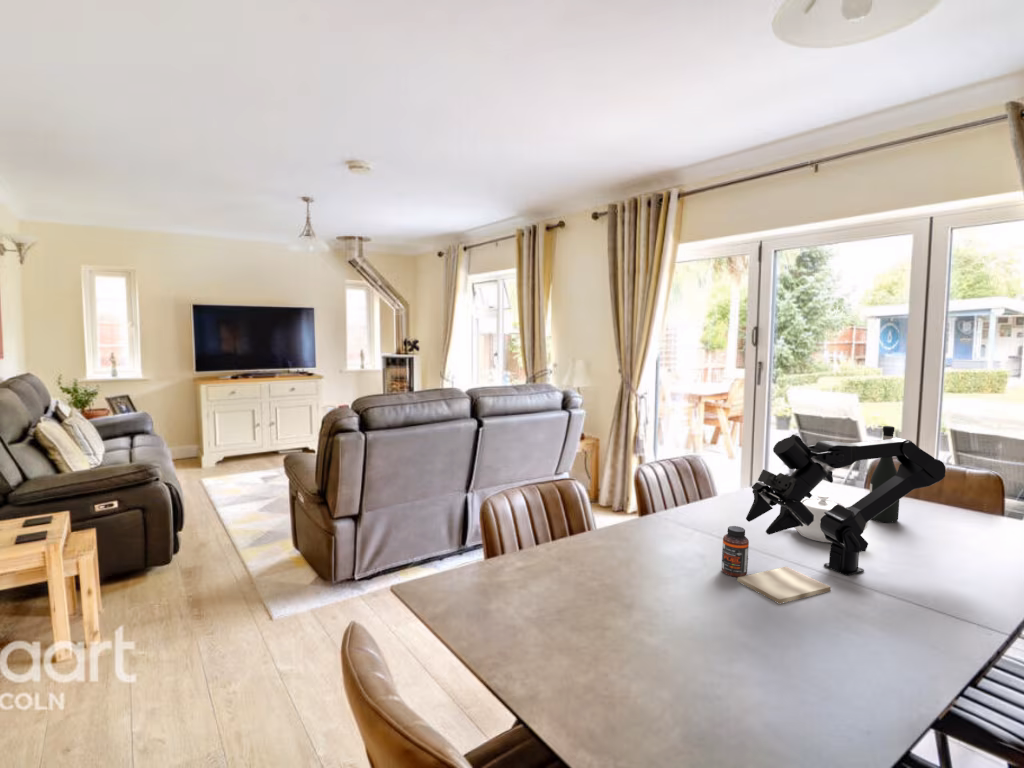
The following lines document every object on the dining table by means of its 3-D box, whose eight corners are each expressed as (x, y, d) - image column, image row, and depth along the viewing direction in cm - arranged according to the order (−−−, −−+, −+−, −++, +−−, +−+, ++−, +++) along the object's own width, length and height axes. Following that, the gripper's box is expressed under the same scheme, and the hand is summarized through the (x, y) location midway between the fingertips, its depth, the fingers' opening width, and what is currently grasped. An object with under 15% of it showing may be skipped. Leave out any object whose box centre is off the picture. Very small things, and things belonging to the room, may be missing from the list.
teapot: (875, 542, 157) (878, 500, 156) (855, 555, 147) (858, 510, 146) (785, 519, 176) (788, 481, 175) (763, 529, 166) (765, 489, 165)
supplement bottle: (719, 574, 135) (721, 529, 134) (722, 565, 140) (724, 522, 139) (746, 580, 132) (748, 534, 131) (748, 570, 138) (750, 526, 137)
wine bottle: (862, 517, 178) (867, 425, 175) (877, 514, 181) (883, 423, 179) (888, 525, 171) (894, 429, 168) (903, 521, 174) (910, 427, 172)
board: (786, 570, 138) (786, 566, 138) (830, 590, 127) (830, 586, 127) (737, 581, 132) (737, 577, 131) (779, 603, 121) (779, 599, 120)
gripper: (760, 451, 144) (718, 493, 144) (804, 468, 125) (755, 517, 125) (787, 480, 145) (745, 522, 145) (835, 501, 127) (786, 549, 127)
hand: (756, 526), depth 136 cm, fingers open, 9 cm apart
